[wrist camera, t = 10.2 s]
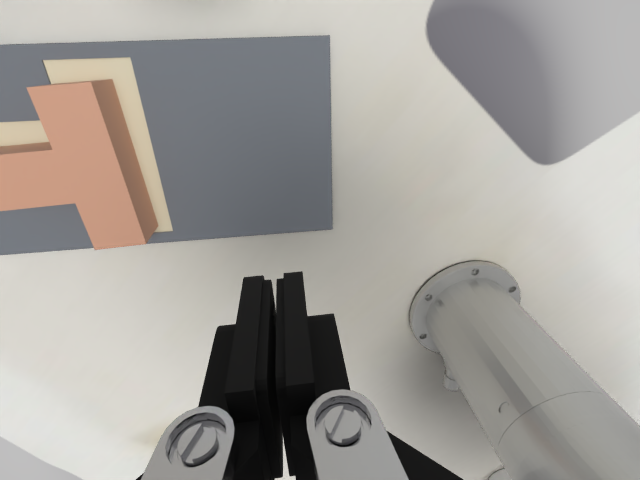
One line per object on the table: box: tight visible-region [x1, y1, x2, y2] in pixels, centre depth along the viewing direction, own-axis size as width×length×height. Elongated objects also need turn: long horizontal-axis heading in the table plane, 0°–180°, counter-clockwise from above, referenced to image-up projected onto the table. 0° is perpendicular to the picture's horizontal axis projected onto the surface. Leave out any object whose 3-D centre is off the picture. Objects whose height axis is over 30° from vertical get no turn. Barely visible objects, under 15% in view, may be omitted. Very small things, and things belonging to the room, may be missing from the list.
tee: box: [0, 79, 158, 250], centre depth 27 cm, size 12×11×4 cm
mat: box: [0, 35, 333, 255], centre depth 29 cm, size 16×30×1 cm, turn 92°
